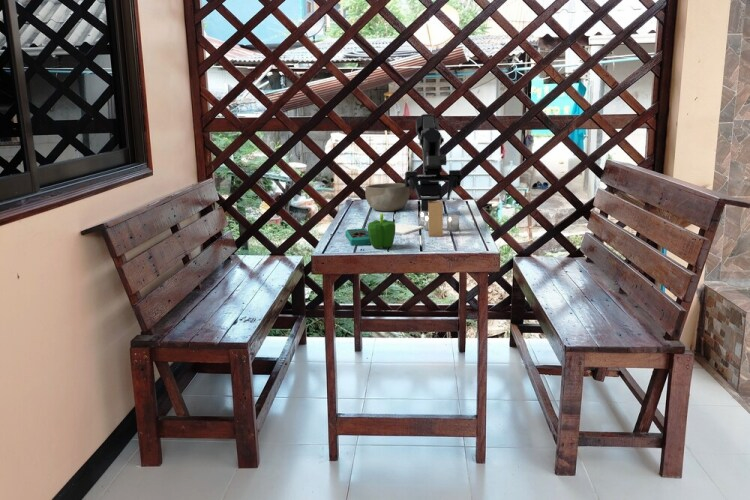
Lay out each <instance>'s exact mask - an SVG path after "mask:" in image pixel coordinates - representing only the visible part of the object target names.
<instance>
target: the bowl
mask: <svg viewBox="0 0 750 500" xmlns="http://www.w3.org/2000/svg"><path fill="white" fill-rule="evenodd" d="M364 190H365V193H364V194H365V200H366V203H367V204H368V206H369V207H370V208H371V209H373V210H375V211H378V212H393V211H399V210H402V209H403V208H404V207H405V206H406V205H407V204H408V202H409V200H410V199H409V198H410V189H409V187H405V183H402V182H391V183H390V182H387V183H375V184H370V185H366V187H365V189H364Z"/></svg>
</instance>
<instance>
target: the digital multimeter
mask: <svg viewBox="0 0 750 500" xmlns="http://www.w3.org/2000/svg"><path fill="white" fill-rule="evenodd" d="M344 236H345V237H346V239H347V240H348V241H349V243H350V244H349V245H350V246H355V247H356V246H369V245H370V246H371V245H372V244H371V242H370V239H369V235H368V228H365V227H364V228H352V229H351V228H350V229H346V230H345V231H344Z"/></svg>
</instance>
